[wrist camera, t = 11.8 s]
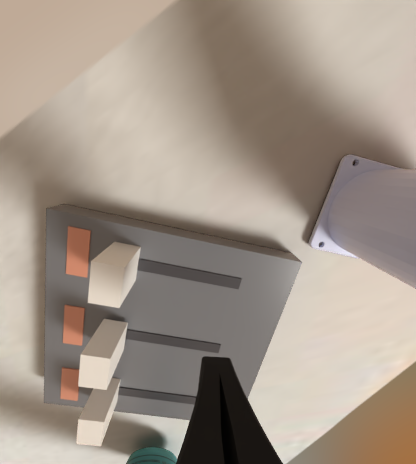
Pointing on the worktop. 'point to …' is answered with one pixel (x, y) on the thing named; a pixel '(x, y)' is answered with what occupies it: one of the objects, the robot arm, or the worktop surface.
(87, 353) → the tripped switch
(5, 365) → the worktop surface
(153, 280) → the switch panel
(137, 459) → the beverage bottle
